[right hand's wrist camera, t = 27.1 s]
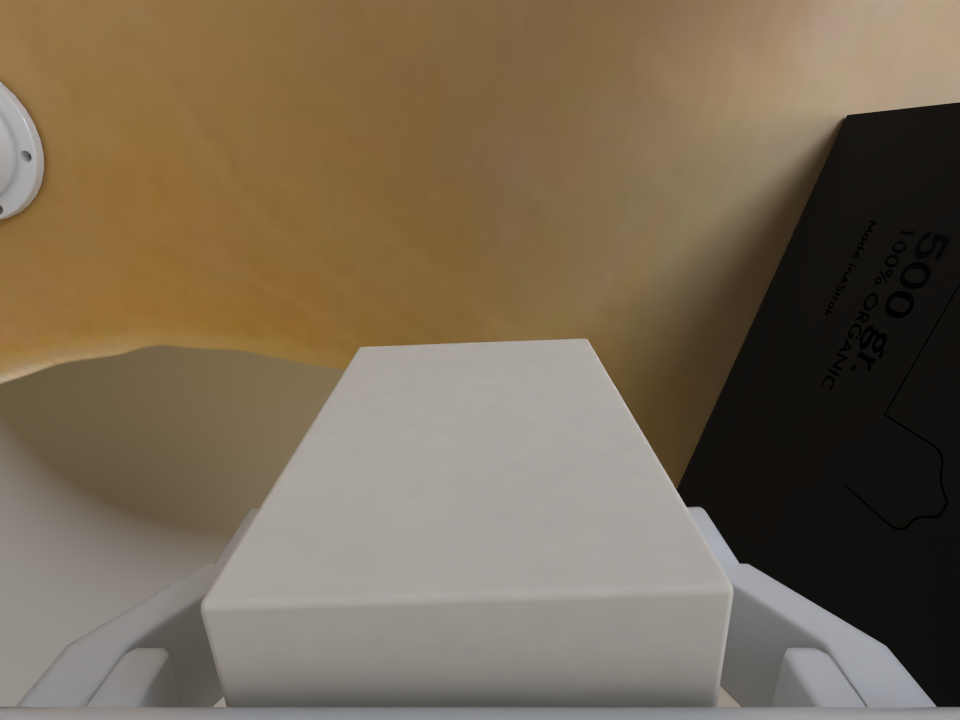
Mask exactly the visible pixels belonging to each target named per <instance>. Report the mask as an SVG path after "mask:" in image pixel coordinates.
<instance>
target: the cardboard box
mask: <svg viewBox="0 0 960 720" xmlns="http://www.w3.org/2000/svg"><path fill="white" fill-rule="evenodd" d="M849 267H850V268H852V269H851V271H850V270H849V269H847V268H849ZM849 271H850V273H849V274H848V275H847V274H845V276H846V278H847V279H848V280H847V282H844V283H840V282H841V281H842V280H843V278H844V277H843V275H844V273H845V272H849ZM877 277H878V278H877ZM876 278H877V280H876V282H875V279H876ZM885 278H886V280H887V282H888V283H887V282H886V281H885V280H884V279H885ZM844 281H845V280H844ZM838 285H840V286H839V287H838ZM842 286H844V288H842V289H841V290H840V291H837V287H838V289H840V288H841V287H842ZM841 291H842V292H841ZM835 292H836V293H835ZM838 293H839V294H838ZM869 294H870V295H869ZM876 294H877V295H876ZM868 295H869V297H868V298H867V299H866V297H867V296H868ZM875 295H876V296H877V297H878V299H875ZM865 299H866V300H865ZM835 300H836V301H835ZM864 300H865V301H864ZM832 301H833V302H834V301H835V302H834V305H833V307H832V309H830V308H828V305H829V303H830V302H832ZM908 301H909V302H908ZM909 303H910V304H913V305H914V306H910V305H909ZM831 306H832V304H830V307H831ZM869 307H874V308H873V309H871V308H870V309H869ZM908 308H909V309H911V312H910V313H909V310H907V309H908ZM826 309H827V310H829V311H831V312H830V313H828V316H827V314H825V315H824V313H826V312H827V311H826ZM868 309H869V310H868ZM859 311H860V314H859ZM903 312H906V313H909V314H904V313H903ZM865 315H867V316H870V317H869V318H867V317H865ZM900 315H906V316H905V317H903V316H902V317H900V318H899V316H900ZM857 317H858V318H857ZM856 318H857V320H856V321H855V319H856ZM863 320H865V321H866V320H868V321H867V322H863ZM853 325H854V326H853ZM860 325H861V327H862V328H861V327H860V328H859V326H860ZM852 326H853V328H852V329H851V331H850V332H849V329H850V328H851V327H852ZM867 327H868V328H870V329H869V331H868V330H867V329H866V328H867ZM876 329H877V330H878V332H879V335H880V336H881V337H882V339H880V338H879V337H877V336H876V335H878V334H877V333H876ZM861 331H862V332H861ZM867 331H868V332H867ZM848 332H849V333H848ZM865 333H866V335H864V334H865ZM881 333H884V334H882V335H881ZM858 335H859V338H857V336H858ZM863 336H864V338H863ZM872 337H873V338H872ZM859 340H860V341H862V342H861V343H859ZM874 340H878V341H877V342H874ZM885 343H886V344H885ZM884 344H885V346H884ZM859 345H861V346H860V347H859ZM872 346H873V347H878V348H879V349H878V351H877V352H876V350H877V349H876V350H875V352H876V353H874V352H873V350H874V349H873V350H872ZM839 349H841V350H840V351H839ZM847 349H850V350H847ZM881 350H883V351H882V352H881V355H879V354H880V353H879V352H880V351H881ZM837 353H839V354H838V355H837ZM865 355H867V356H865ZM882 355H883V356H882ZM843 357H844V358H843ZM870 357H871V359H869V358H870ZM842 359H843V360H842ZM832 364H833V365H832ZM840 370H841V371H840ZM835 373H837V374H839V376H837V375H834V374H835ZM824 378H825V381H824V382H823V384H822V381H823V380H824ZM832 378H833V380H832ZM832 383H834V385H833V384H832ZM832 386H833V388H831V389H829V388H830V387H832ZM677 492H678V494H679V495H680V497H681V499H682V500H683V502H684V504H685V505H686V507H701V508H703V509H704V510H705V511H706V513H707V514H708V516H709V517H710V519H711V520H712V522H713V524H714V525H715V527H716V528H717V530H718V531H719V533H720V534H721V536H722V537H723V539H724V540H725V542H726V544H727V545H728V547H729V548H730V550H731V551H732V553H733V554H734V556H735V557H736V559H737V560H738V562H739V564H749V565H751V566H752V567H754V568H756V569H757V570H759V571H761V572H762V573H764V574H766V575H768V576H769V577H771V578H773V579H774V580H776V581H778V582H779V583H781V584H783V585H784V586H786V587H788V588H789V589H791V590H793V591H794V592H796V593H798V594H800V595H801V596H803V597H805V598H806V599H808V600H810V601H811V602H813V603H815V604H816V605H818V606H820V607H821V608H823V609H825V610H826V611H828V612H830V613H832V614H833V615H835V616H837V617H838V618H840V619H842V620H843V621H845V622H847V623H848V624H850V625H852V626H853V627H855V628H857V629H858V630H860V631H862V632H863V633H865V634H867V635H869V636H870V637H872V638H874V639H875V640H877V641H879V642H880V643H882V644H884V645H885V646H887V647H888V649H889V650H890V651H891V652H892V653H893V655H894V656H895V657H896V658H897V659H898V661H899V662H900V663H901V664H902V665H903V667H904V668H905V669H906V670H907V671H908V673H909V674H910V675H911V676H912V678H913V679H914V680H915V681H916V682H917V684H918V685H919V686H920V687H921V688H922V690H923V691H924V692H925V693H926V694H927V696H928V697H929V698H930V699H931V700H932V702H933V703H934V704H935V705H936V707H960V103H951V104H942V105H933V106H924V107H916V108H907V109H898V110H889V111H880V112H872V113H863V114H854V115H847V117H846V119H845V122H844V124H843V126H842V128H841V130H840V133H839V135H838V137H837V139H836V141H835V144H834V146H833V148H832V150H831V152H830V155H829V157H828V159H827V161H826V163H825V166H824V168H823V170H822V172H821V174H820V177H819V179H818V181H817V183H816V185H815V188H814V190H813V192H812V194H811V196H810V199H809V201H808V203H807V205H806V207H805V210H804V212H803V214H802V216H801V218H800V221H799V223H798V225H797V227H796V229H795V232H794V234H793V236H792V238H791V240H790V243H789V245H788V247H787V249H786V251H785V254H784V256H783V258H782V260H781V262H780V265H779V267H778V269H777V271H776V273H775V276H774V278H773V280H772V282H771V284H770V287H769V289H768V291H767V293H766V295H765V298H764V300H763V302H762V304H761V306H760V309H759V311H758V313H757V315H756V317H755V320H754V322H753V324H752V326H751V328H750V331H749V333H748V335H747V337H746V339H745V342H744V344H743V346H742V348H741V350H740V353H739V355H738V357H737V359H736V361H735V364H734V366H733V368H732V370H731V373H730V375H729V377H728V379H727V381H726V384H725V386H724V388H723V390H722V392H721V395H720V397H719V399H718V401H717V403H716V406H715V408H714V410H713V412H712V414H711V417H710V419H709V421H708V423H707V425H706V428H705V430H704V432H703V434H702V436H701V439H700V441H699V443H698V445H697V447H696V450H695V452H694V454H693V456H692V458H691V461H690V463H689V465H688V467H687V469H686V472H685V474H684V476H683V478H682V480H681V483H680V485H679V487H678V489H677Z"/></svg>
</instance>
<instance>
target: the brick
mask: <svg viewBox="0 0 960 720" xmlns="http://www.w3.org/2000/svg"><path fill="white" fill-rule="evenodd" d="M732 600H733V586H732V583H731V582H730V580H729V578H728V576H727V575H726V573H725V571H724V570H723V568H722V566H721V565H720V563H719V561H718V560H717V558H716V556H715V554H714V553H713V551H712V549H711V548H710V546H709V544H708V543H707V541H706V539H705V538H704V536H703V534H702V532H701V531H700V529H699V527H698V526H697V524H696V522H695V521H694V519H693V517H692V516H691V514H690V512H689V510H688V509H687V507H686V505H685V504H684V502H683V500H682V499H681V497H680V495H679V494H678V492H677V490H676V488H675V487H674V485H673V483H672V482H671V480H670V478H669V477H668V475H667V473H666V471H665V470H664V468H663V466H662V465H661V463H660V461H659V460H658V458H657V456H656V455H655V453H654V451H653V449H652V448H651V446H650V444H649V443H648V441H647V439H646V438H645V436H644V434H643V433H642V431H641V429H640V427H639V426H638V424H637V422H636V421H635V419H634V417H633V416H632V414H631V412H630V411H629V409H628V407H627V405H626V404H625V402H624V400H623V399H622V397H621V395H620V394H619V392H618V390H617V389H616V387H615V385H614V383H613V382H612V380H611V378H610V377H609V375H608V373H607V372H606V370H605V368H604V366H603V365H602V363H601V361H600V360H599V358H598V356H597V355H596V353H595V351H594V350H593V348H592V346H591V344H590V343H589V341H588V339H585V338H584V339H558V340H532V341H506V342H480V343H454V344H428V345H402V346H376V347H361V348H359V349H358V351H357V352H356V354H355V356H354V357H353V359H352V360H351V362H350V364H349V365H348V367H347V368H346V370H345V372H344V373H343V375H342V377H341V378H340V380H339V381H338V383H337V384H336V386H335V388H334V389H333V391H332V393H331V394H330V396H329V397H328V399H327V401H326V402H325V404H324V405H323V407H322V409H321V410H320V412H319V413H318V415H317V417H316V418H315V420H314V422H313V423H312V425H311V426H310V428H309V430H308V431H307V433H306V434H305V436H304V438H303V439H302V441H301V442H300V444H299V446H298V447H297V449H296V450H295V452H294V454H293V455H292V457H291V459H290V460H289V462H288V463H287V465H286V467H285V468H284V470H283V471H282V473H281V475H280V476H279V478H278V479H277V481H276V483H275V484H274V486H273V487H272V489H271V491H270V492H269V494H268V495H267V497H266V499H265V500H264V502H263V504H262V505H261V507H260V508H259V510H258V512H257V513H256V515H255V516H254V518H253V520H252V521H251V523H250V524H249V526H248V528H247V529H246V531H245V532H244V534H243V536H242V537H241V539H240V541H239V542H238V544H237V545H236V547H235V549H234V550H233V552H232V553H231V555H230V557H229V558H228V560H227V561H226V563H225V565H224V566H223V568H222V569H221V571H220V573H219V574H218V576H217V578H216V579H215V581H214V582H213V584H212V586H211V587H210V589H209V590H208V592H207V594H206V595H205V597H204V598H203V600H202V603H201V615H202V618H203V622H204V626H205V629H206V633H207V636H208V640H209V644H210V647H211V651H212V655H213V658H214V662H215V666H216V669H217V673H218V676H219V680H220V684H221V687H222V691H223V695H224V698H225V702H226V705H227V707H716V706H717V700H718V693H719V686H720V680H721V673H722V667H723V660H724V653H725V647H726V640H727V633H728V627H729V620H730V613H731V607H732Z"/></svg>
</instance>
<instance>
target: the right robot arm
mask: <svg viewBox="0 0 960 720" xmlns="http://www.w3.org/2000/svg"><path fill="white" fill-rule="evenodd" d="M259 508H260V507H255V508H253V509H251V510H250V511H249V512H248V514H247V515H246V517H245V518H244V520H243V521H242V523H241V524H240V526H239V527H238V529H237V530H236V532H235V533H234V535H233V536H232V538H231V539H230V541H229V543H228V544H227V545H226V547H225V549H224V550H223V552H222V553H221V555H220V556H219V558H218V559H217V561H216V562H215V564H205V565H203V566H202V567H200V568H198V569H197V570H195V571H193V572H191V573H190V574H188V575H186V576H185V577H183V578H181V579H180V580H178V581H176V582H174V583H173V584H171V585H169V586H168V587H166V588H164V589H162V590H161V591H159V592H157V593H156V594H154V595H152V596H151V597H149V598H147V599H145V600H144V601H142V602H140V603H139V604H137V605H135V606H134V607H132V608H130V609H128V610H127V611H125V612H123V613H122V614H120V615H118V616H116V617H115V618H113V619H111V620H110V621H108V622H106V623H105V624H103V625H101V626H99V627H98V628H96V629H94V630H93V631H91V632H89V633H88V634H86V635H84V636H82V637H81V638H79V639H77V640H75V641H74V642H72V643H70V644H69V645H67V646H66V647H65V649H64V650H63V651H62V652H61V653H60V655H59V656H58V657H57V658H56V659H55V660H54V662H53V663H52V664H51V665H50V666H49V668H48V669H47V670H46V671H45V672H44V673H43V675H42V676H41V677H40V678H39V679H38V680H37V682H36V683H35V684H34V685H33V686H32V688H31V689H30V690H29V691H28V692H27V693H26V695H25V696H24V697H23V698H22V699H21V700H20V702H19V703H18V704H17V705H16V706H15V707H0V720H960V707H936V705H935V704H934V703H933V702H932V700H931V699H930V698H929V697H928V696H927V694H926V693H925V692H924V691H923V690H922V688H921V687H920V686H919V685H918V684H917V682H916V681H915V680H914V679H913V678H912V676H911V675H910V674H909V673H908V671H907V670H906V669H905V668H904V667H903V665H902V664H901V663H900V662H899V661H898V659H897V658H896V657H895V656H894V655H893V653H892V652H891V651H890V650H889V649H888V647H887V646H885V645H884V644H882V643H880V642H879V641H877V640H875V639H874V638H872V637H870V636H869V635H867V634H865V633H863V632H862V631H860V630H858V629H857V628H855V627H853V626H852V625H850V624H848V623H847V622H845V621H843V620H842V619H840V618H838V617H837V616H835V615H833V614H832V613H830V612H828V611H826V610H825V609H823V608H821V607H820V606H818V605H816V604H815V603H813V602H811V601H810V600H808V599H806V598H805V597H803V596H801V595H800V594H798V593H796V592H794V591H793V590H791V589H789V588H788V587H786V586H784V585H783V584H781V583H779V582H778V581H776V580H774V579H773V578H771V577H769V576H768V575H766V574H764V573H762V572H761V571H759V570H757V569H756V568H754V567H752V566H751V565H749V564H739V562H738V560H737V559H736V557H735V556H734V554H733V553H732V551H731V550H730V548H729V547H728V545H727V544H726V542H725V540H724V539H723V537H722V536H721V534H720V533H719V531H718V530H717V528H716V527H715V525H714V524H713V522H712V520H711V519H710V517H709V516H708V514H707V513H706V511H705V510H704V509H703V508H701V507H687V509H688V510H689V512H690V514H691V516H692V517H693V519H694V521H695V522H696V524H697V526H698V527H699V529H700V531H701V532H702V534H703V536H704V538H705V539H706V541H707V543H708V544H709V546H710V548H711V549H712V551H713V553H714V554H715V556H716V558H717V560H718V561H719V563H720V565H721V566H722V568H723V570H724V571H725V573H726V575H727V576H728V578H729V580H730V582H731V583H732V586H733V600H732V607H731V613H730V620H729V627H728V633H727V640H726V647H725V653H724V660H723V667H722V673H721V680H720V686H721V687H722V688H723V689H724V690H725V691H726V692H727V693H728V694H729V695H730V696H731V697H732V698H733V699H734V700H735V701H736V702H737V703H738V704H739V705H740V706H741V707H213V706H214V705H215V704H216V703H217V702H218V701H219V700H220V699H221V698H222V697H223V696H224V695H223V691H222V687H221V684H220V680H219V676H218V673H217V669H216V666H215V662H214V658H213V655H212V651H211V647H210V644H209V640H208V636H207V633H206V629H205V626H204V622H203V618H202V615H201V603H202V600H203V598H204V597H205V595H206V594H207V592H208V590H209V589H210V587H211V586H212V584H213V582H214V581H215V579H216V578H217V576H218V574H219V573H220V571H221V569H222V568H223V566H224V565H225V563H226V561H227V560H228V558H229V557H230V555H231V553H232V552H233V550H234V549H235V547H236V545H237V544H238V542H239V541H240V539H241V537H242V536H243V534H244V532H245V531H246V529H247V528H248V526H249V524H250V523H251V521H252V520H253V518H254V516H255V515H256V513H257V512H258V510H259Z"/></svg>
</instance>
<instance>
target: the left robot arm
mask: <svg viewBox="0 0 960 720" xmlns="http://www.w3.org/2000/svg"><path fill="white" fill-rule="evenodd" d="M43 173H44V154H43V149H42V145H41V140H40V137H39V135H38V132H37V129H36V127H35V124H34V123H33V121H32V119H31V117H30V116H29V114H28V112H27V110H26V109H25V107H24V106H23V105H22V104H21V102H20V101H19V100H18V99H17V97H16V96H15V95H14V94H13V93H12V92H11V91H10V90H9V89H8V88H7V87H6V86H5V85H4V84H3V83H1V82H0V220H2V219H7V218H10V217H12V216H14V215H16V214H19V213H20V212H22V211H23V210H24V209H25V208H26V207H28V206H29V205H30V204H31V202H32V201H33V200H34V198H35V197H36V195H37V193H38V191H39V189H40V186H41V184H42V179H43Z"/></svg>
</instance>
